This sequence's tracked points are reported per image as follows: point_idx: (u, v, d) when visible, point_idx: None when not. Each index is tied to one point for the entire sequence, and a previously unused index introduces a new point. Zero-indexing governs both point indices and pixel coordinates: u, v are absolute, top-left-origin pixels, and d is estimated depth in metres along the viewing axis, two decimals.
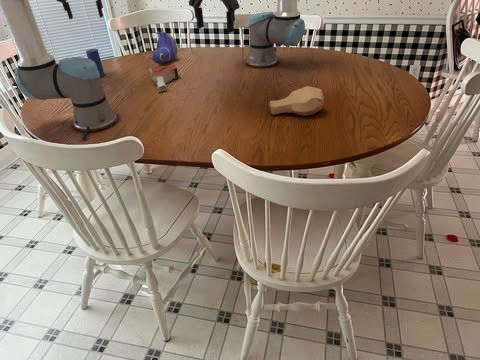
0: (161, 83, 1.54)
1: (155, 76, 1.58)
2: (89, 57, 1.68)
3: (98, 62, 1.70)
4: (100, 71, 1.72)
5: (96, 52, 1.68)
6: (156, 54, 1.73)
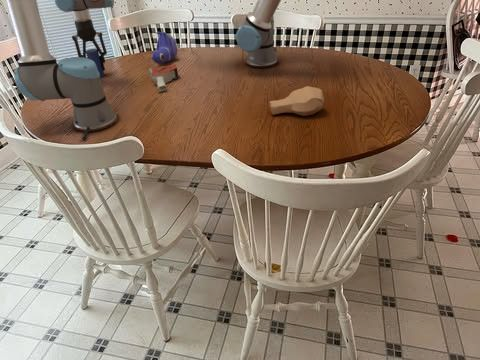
0: (161, 83, 1.54)
1: (155, 76, 1.58)
2: (89, 57, 1.68)
3: (98, 62, 1.70)
4: (100, 71, 1.72)
5: (96, 52, 1.68)
6: (156, 54, 1.73)
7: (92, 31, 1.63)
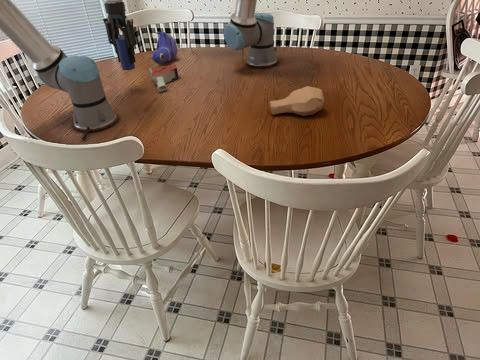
0: (161, 83, 1.54)
1: (155, 76, 1.58)
2: None
3: (124, 53, 1.46)
4: (126, 63, 1.49)
5: (123, 41, 1.44)
6: (156, 54, 1.73)
7: (120, 16, 1.38)
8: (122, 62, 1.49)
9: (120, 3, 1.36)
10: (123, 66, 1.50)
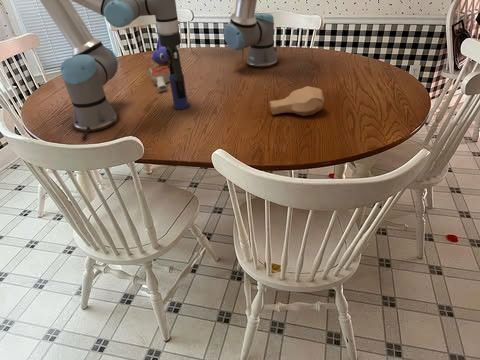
0: (161, 83, 1.54)
1: (155, 76, 1.58)
2: None
3: (173, 91, 1.35)
4: (175, 102, 1.38)
5: (173, 80, 1.32)
6: (156, 54, 1.73)
7: (169, 49, 1.25)
8: (173, 99, 1.39)
9: (170, 36, 1.22)
10: None
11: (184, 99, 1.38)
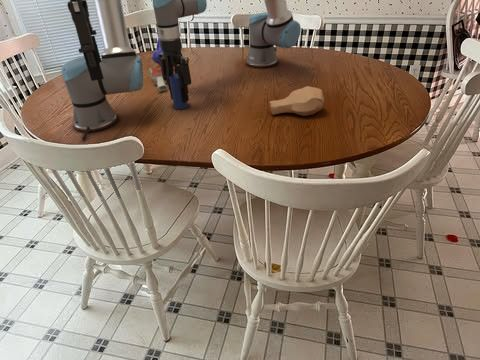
0: (161, 83, 1.54)
1: (155, 76, 1.58)
2: None
3: (173, 91, 1.35)
4: (175, 102, 1.38)
5: (173, 80, 1.32)
6: (156, 54, 1.73)
7: None
8: (173, 99, 1.39)
9: None
10: None
11: None
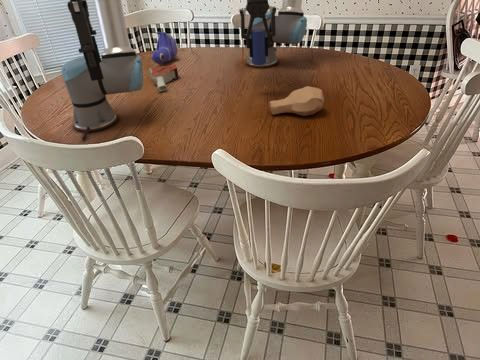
0: (161, 83, 1.54)
1: (155, 76, 1.58)
2: (251, 37, 1.33)
3: (259, 46, 1.34)
4: (259, 57, 1.36)
5: (260, 33, 1.31)
6: (156, 54, 1.73)
7: None
8: (254, 56, 1.36)
9: None
10: (255, 60, 1.37)
11: (265, 53, 1.38)
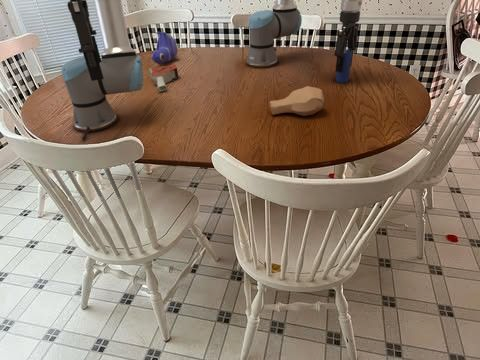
0: (161, 83, 1.54)
1: (155, 76, 1.58)
2: None
3: (350, 65, 1.49)
4: (348, 75, 1.51)
5: (351, 53, 1.46)
6: (156, 54, 1.73)
7: None
8: (345, 75, 1.50)
9: None
10: (345, 78, 1.51)
11: None
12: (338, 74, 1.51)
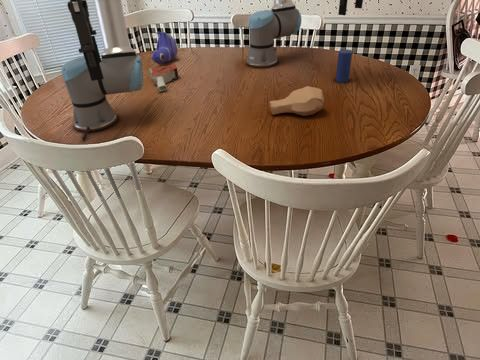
0: (161, 83, 1.54)
1: (155, 76, 1.58)
2: (343, 59, 1.47)
3: (350, 65, 1.49)
4: (348, 75, 1.51)
5: (351, 53, 1.46)
6: (156, 54, 1.73)
7: None
8: (345, 75, 1.50)
9: None
10: (345, 78, 1.51)
11: None
12: (338, 74, 1.51)
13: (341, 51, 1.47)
